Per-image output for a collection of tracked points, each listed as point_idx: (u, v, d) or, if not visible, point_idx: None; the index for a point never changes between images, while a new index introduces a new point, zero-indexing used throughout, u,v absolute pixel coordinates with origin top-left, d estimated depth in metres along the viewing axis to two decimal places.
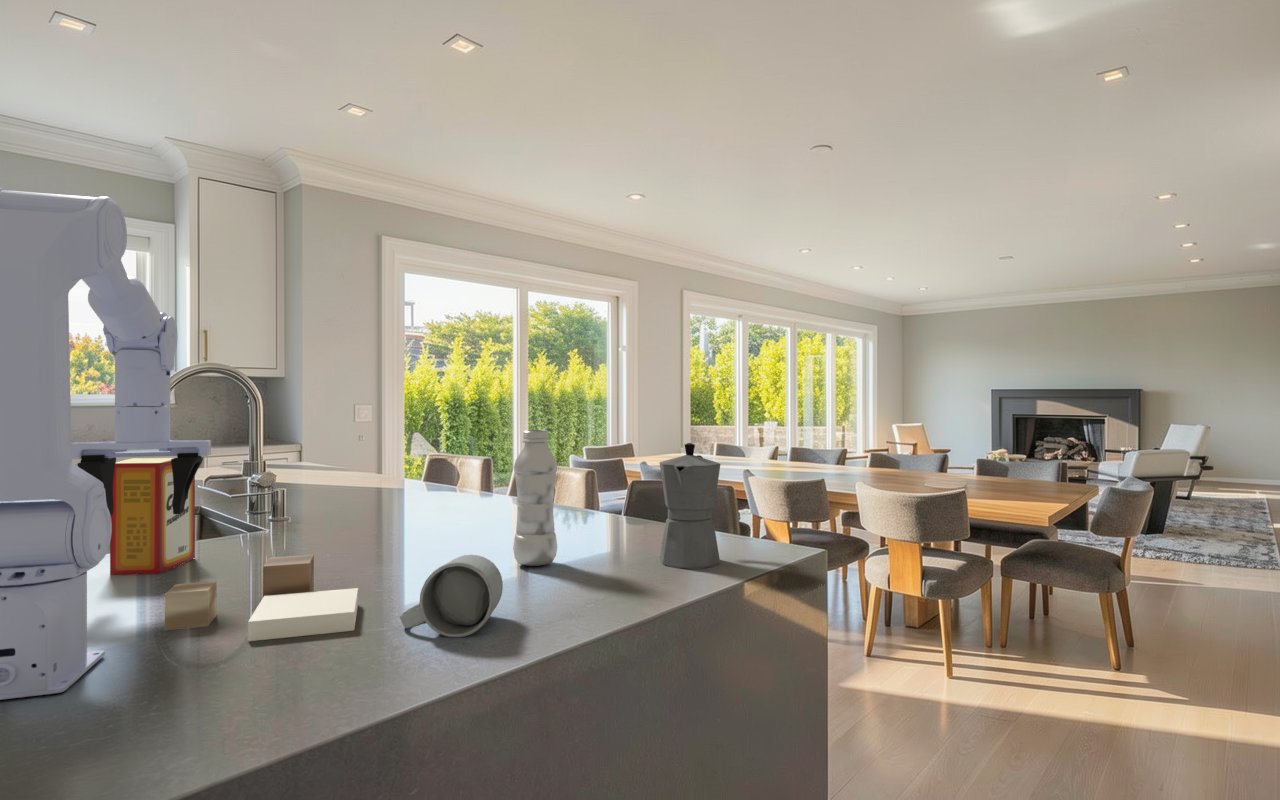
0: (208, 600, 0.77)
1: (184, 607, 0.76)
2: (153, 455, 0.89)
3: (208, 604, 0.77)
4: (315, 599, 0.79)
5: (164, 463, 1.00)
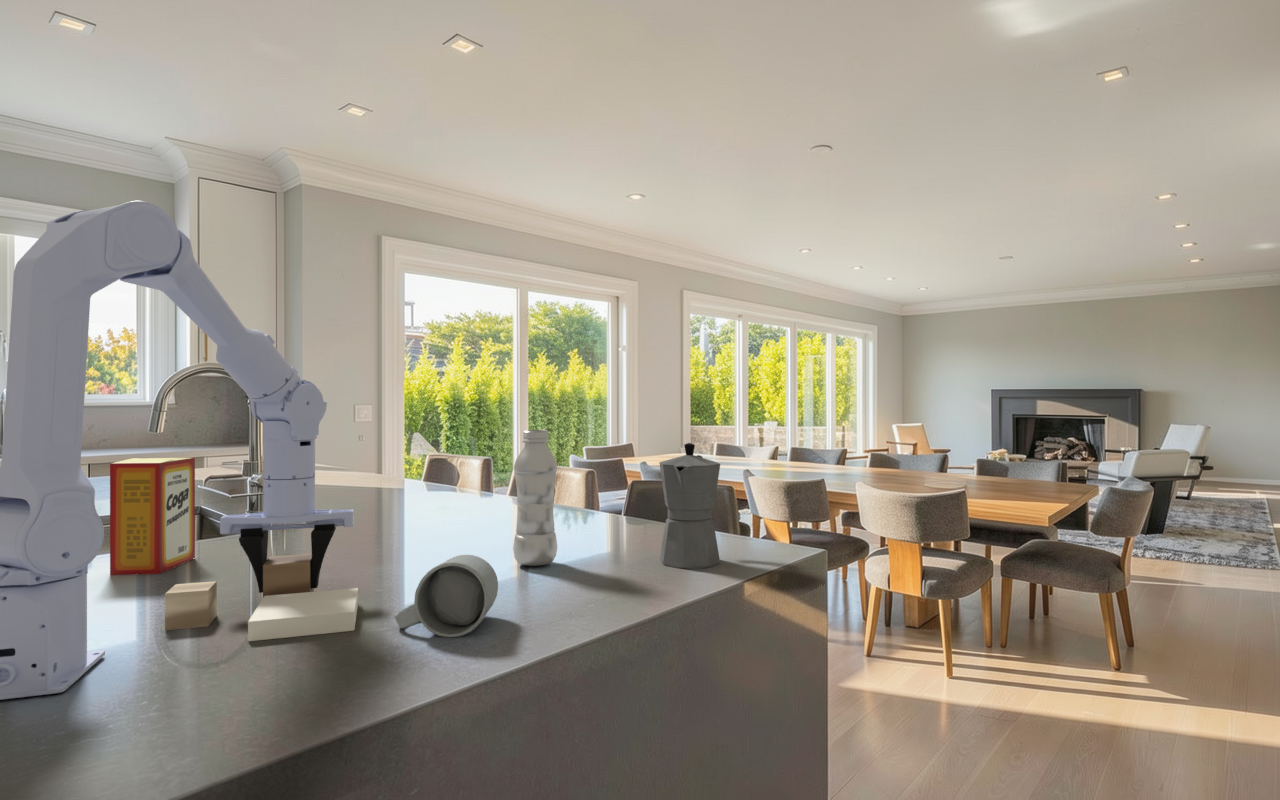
0: (208, 600, 0.77)
1: (184, 607, 0.76)
2: (299, 527, 0.86)
3: (208, 604, 0.77)
4: (315, 599, 0.79)
5: (164, 463, 1.00)
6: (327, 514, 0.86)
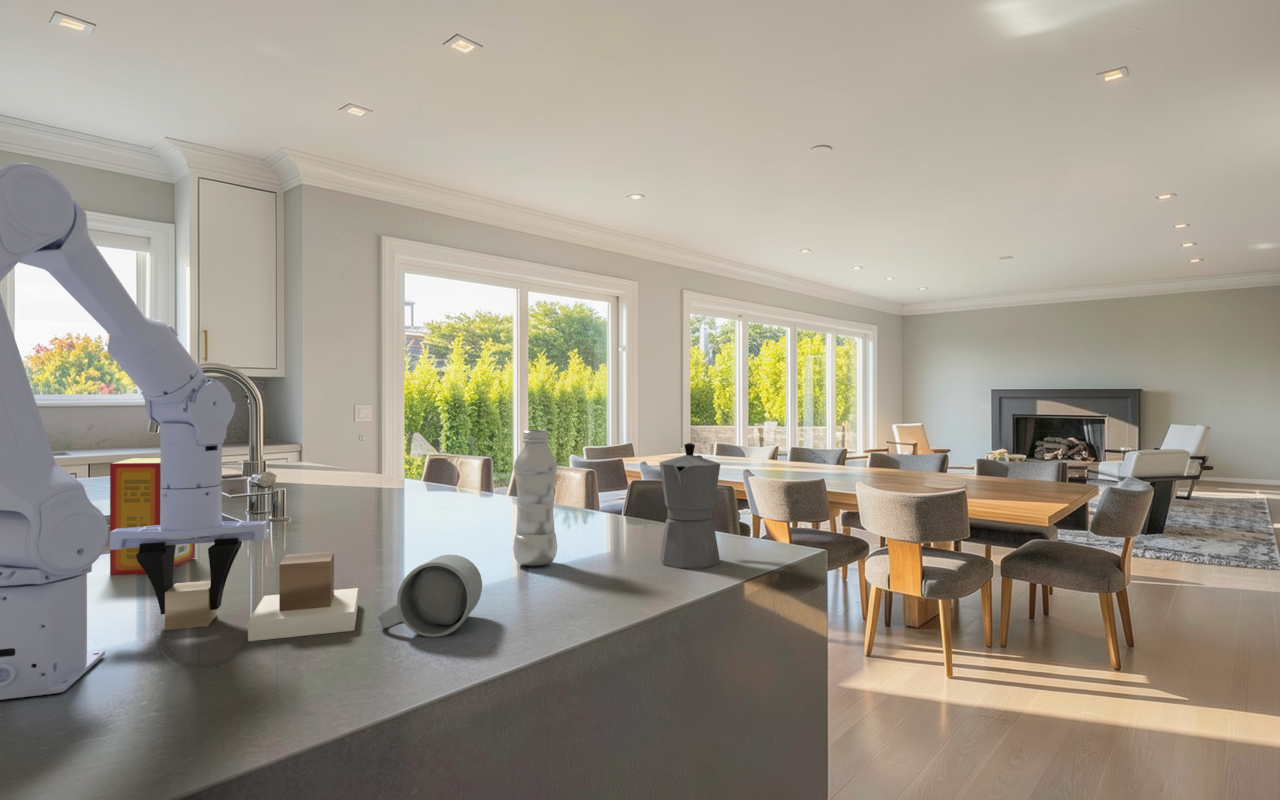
0: (208, 599, 0.77)
1: (184, 606, 0.76)
2: (203, 541, 0.78)
3: (208, 603, 0.77)
4: None
5: None
6: (233, 527, 0.78)
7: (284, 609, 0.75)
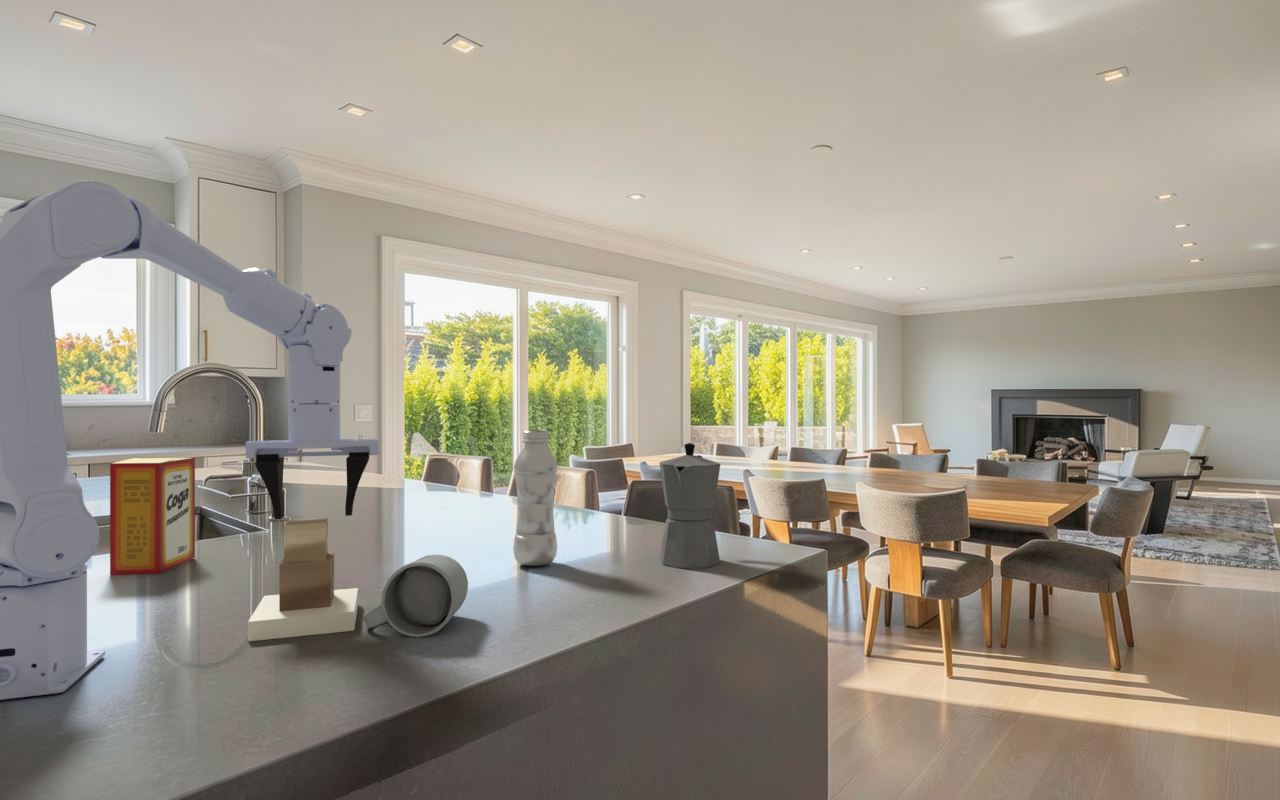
0: (325, 534, 0.77)
1: (302, 540, 0.76)
2: (325, 454, 0.85)
3: (325, 538, 0.77)
4: None
5: (164, 463, 1.00)
6: (353, 441, 0.85)
7: (284, 609, 0.75)
